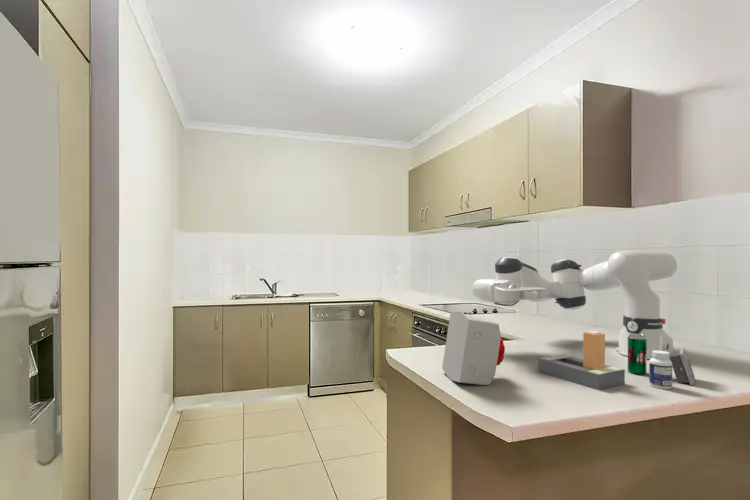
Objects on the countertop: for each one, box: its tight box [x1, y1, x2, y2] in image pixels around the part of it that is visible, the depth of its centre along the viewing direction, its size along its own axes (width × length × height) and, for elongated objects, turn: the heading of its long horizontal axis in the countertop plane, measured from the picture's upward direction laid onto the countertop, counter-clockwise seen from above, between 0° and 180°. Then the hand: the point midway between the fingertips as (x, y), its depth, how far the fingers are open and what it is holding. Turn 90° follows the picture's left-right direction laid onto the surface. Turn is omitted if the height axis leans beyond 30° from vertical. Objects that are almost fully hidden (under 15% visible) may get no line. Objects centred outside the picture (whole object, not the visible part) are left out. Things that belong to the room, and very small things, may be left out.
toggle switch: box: [537, 354, 626, 391], centre depth 126 cm, size 12×20×4 cm, turn 29°
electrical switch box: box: [441, 310, 506, 386], centre depth 123 cm, size 15×15×20 cm
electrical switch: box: [669, 347, 696, 386], centre depth 124 cm, size 9×5×9 cm, turn 141°
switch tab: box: [582, 330, 606, 370], centre depth 122 cm, size 4×4×13 cm
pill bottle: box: [648, 350, 673, 390], centre depth 118 cm, size 5×5×10 cm
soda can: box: [627, 334, 648, 376], centre depth 131 cm, size 5×5×12 cm
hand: (539, 295), depth 138 cm, fingers closed
